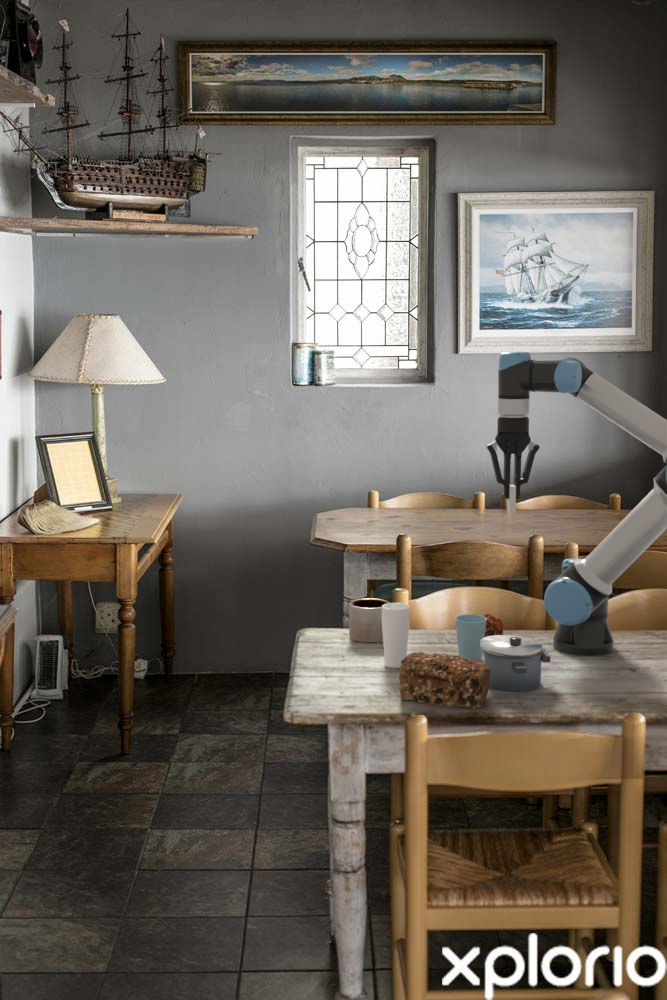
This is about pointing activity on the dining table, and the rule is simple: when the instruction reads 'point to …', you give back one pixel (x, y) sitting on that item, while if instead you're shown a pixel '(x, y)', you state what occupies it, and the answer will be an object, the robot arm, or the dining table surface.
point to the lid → (511, 646)
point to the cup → (470, 635)
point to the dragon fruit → (493, 626)
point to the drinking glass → (395, 633)
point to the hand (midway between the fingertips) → (511, 511)
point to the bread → (443, 680)
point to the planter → (366, 620)
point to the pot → (515, 672)
